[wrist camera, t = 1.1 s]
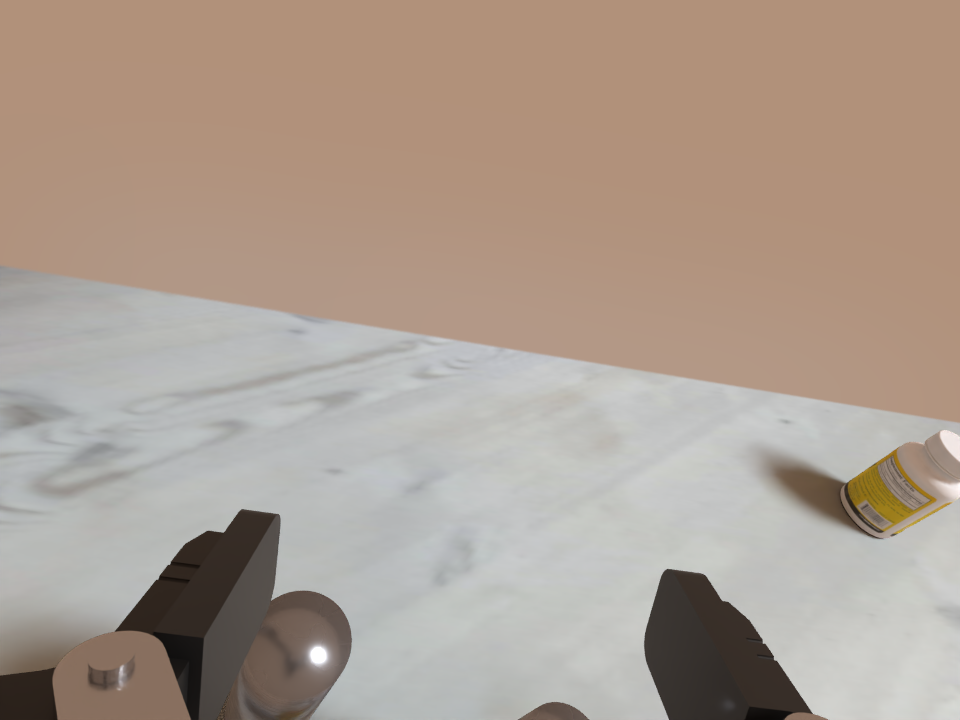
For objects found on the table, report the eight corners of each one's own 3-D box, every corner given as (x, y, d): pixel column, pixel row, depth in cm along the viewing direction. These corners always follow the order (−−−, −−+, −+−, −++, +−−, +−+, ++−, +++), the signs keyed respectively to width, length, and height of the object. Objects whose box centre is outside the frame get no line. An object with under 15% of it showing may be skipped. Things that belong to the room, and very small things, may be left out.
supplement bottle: (876, 494, 56) (972, 434, 49) (900, 547, 52) (1008, 490, 45) (829, 477, 55) (920, 414, 48) (850, 530, 51) (953, 469, 44)
